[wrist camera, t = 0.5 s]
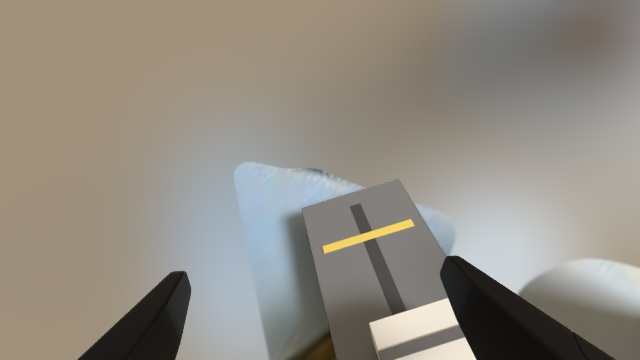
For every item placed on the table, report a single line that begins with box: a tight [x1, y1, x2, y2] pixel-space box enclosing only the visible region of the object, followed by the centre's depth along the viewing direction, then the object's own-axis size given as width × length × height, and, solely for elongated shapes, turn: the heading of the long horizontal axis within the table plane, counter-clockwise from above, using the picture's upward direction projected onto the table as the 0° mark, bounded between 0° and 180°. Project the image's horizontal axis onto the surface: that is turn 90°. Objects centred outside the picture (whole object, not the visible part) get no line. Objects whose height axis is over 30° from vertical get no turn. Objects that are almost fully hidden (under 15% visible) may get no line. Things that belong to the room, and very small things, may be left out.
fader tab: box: [369, 298, 476, 360], centre depth 15 cm, size 3×5×4 cm, turn 103°
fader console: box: [302, 179, 448, 360], centre depth 21 cm, size 18×10×3 cm, turn 13°
